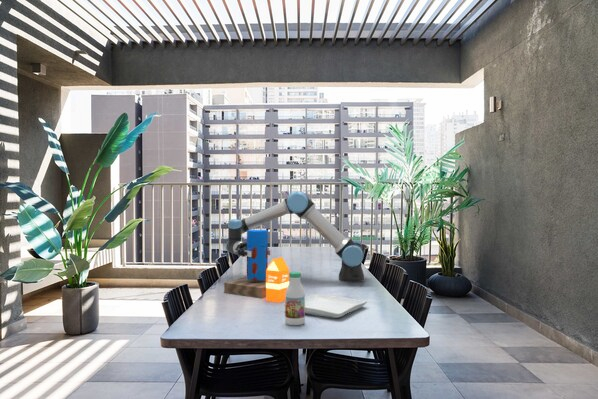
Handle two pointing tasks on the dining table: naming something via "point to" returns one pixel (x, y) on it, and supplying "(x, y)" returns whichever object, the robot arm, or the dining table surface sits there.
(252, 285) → the walnut riser
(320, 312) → the square plate
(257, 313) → the dining table surface
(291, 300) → the milk bottle
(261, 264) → the thermos
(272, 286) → the orange juice
